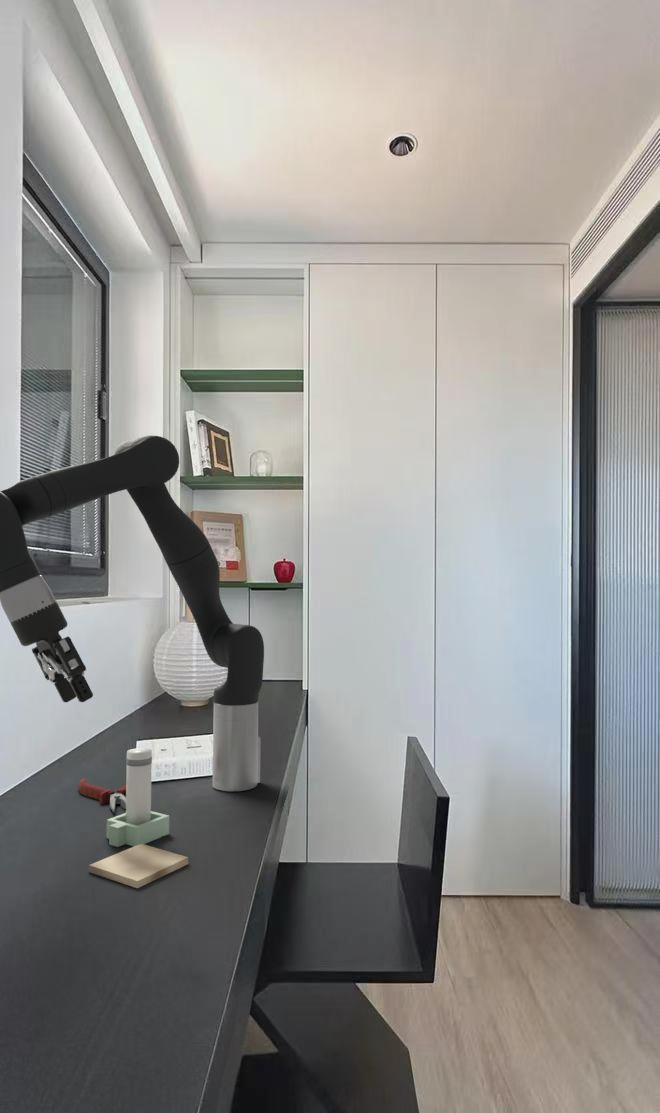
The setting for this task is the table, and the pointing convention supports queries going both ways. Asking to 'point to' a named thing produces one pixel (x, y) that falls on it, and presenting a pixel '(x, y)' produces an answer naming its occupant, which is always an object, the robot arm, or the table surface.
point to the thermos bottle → (138, 786)
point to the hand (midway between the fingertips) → (78, 699)
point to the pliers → (104, 794)
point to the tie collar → (136, 830)
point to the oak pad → (138, 865)
